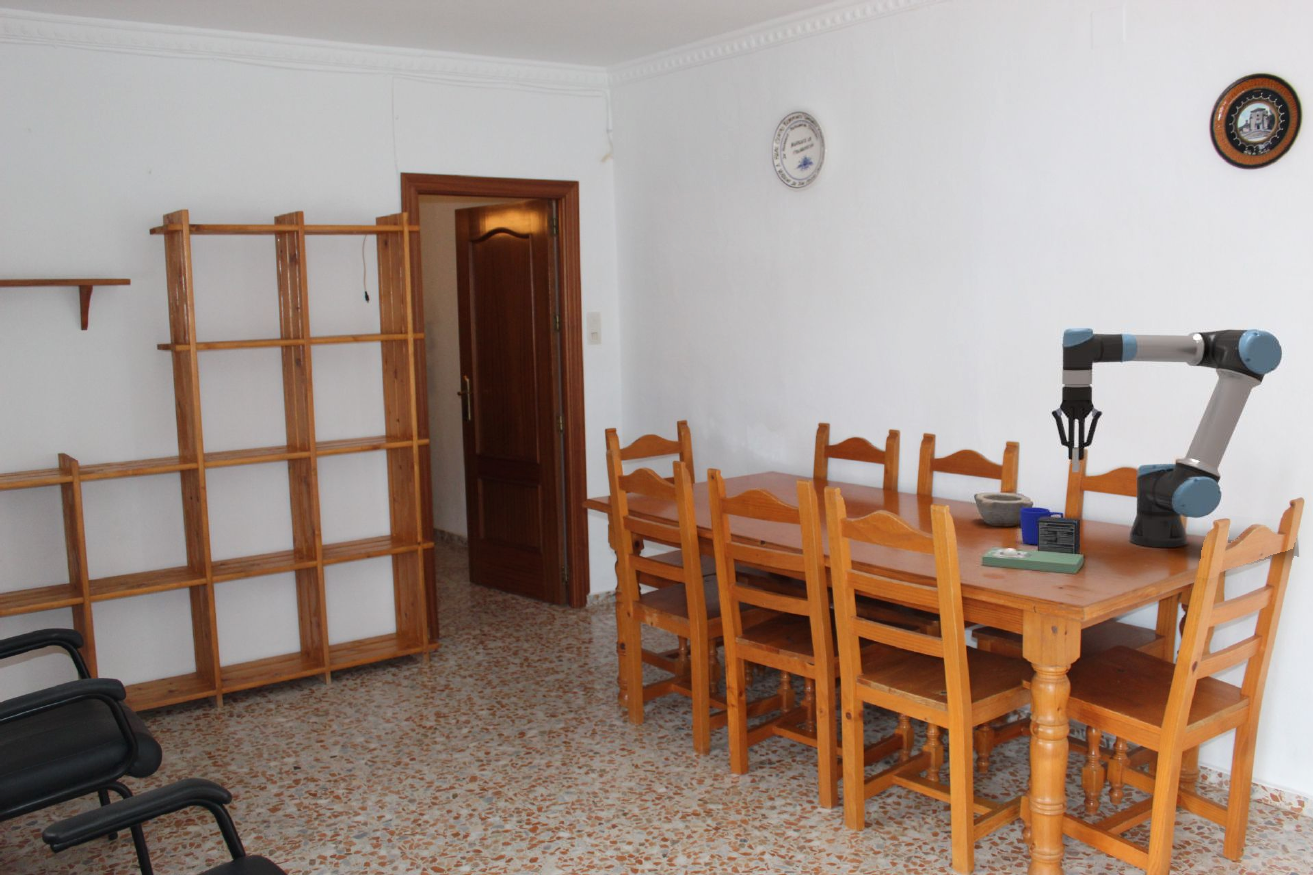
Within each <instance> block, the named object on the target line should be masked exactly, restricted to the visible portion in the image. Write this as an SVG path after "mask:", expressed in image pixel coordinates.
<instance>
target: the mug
mask: <svg viewBox="0 0 1313 875" xmlns="http://www.w3.org/2000/svg"><path fill="white" fill-rule="evenodd" d="M1020 515H1021V522H1020V524H1021V526H1020V527H1021V538H1022V542H1023V543H1025V544H1027V545H1031V546H1032V545H1033V546H1034V545H1035V546H1036V545H1037V546H1038V519H1039V518H1041V517H1053V516H1054V515H1057V516H1060V518H1064V513H1063V512H1058V511H1051V510H1050V509H1049V508H1044V507H1034V506H1032V507H1028V508H1022V509H1020Z"/></svg>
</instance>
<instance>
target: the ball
mask: <svg viewBox="0 0 1313 875" xmlns="http://www.w3.org/2000/svg"><path fill="white" fill-rule="evenodd" d="M1015 549H1016V548H1012V547H1009V548H1008V549H1006V550H1005V551H1004V552H1003V555H1005V556H1018V553H1017V551H1016V550H1015Z"/></svg>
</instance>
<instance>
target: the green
mask: <svg viewBox="0 0 1313 875" xmlns="http://www.w3.org/2000/svg"><path fill="white" fill-rule="evenodd" d="M1006 549H1008V548H1005V547H996V546H995V547H991V548H990V549H989V550H988V551H987V552H986V553H984V554H983V555H981V556H982V557H981V558H982V561H981V566H984V567H985V566H986V567H987V566H988V567H997V568H1006V569H1007V568H1008V569H1018V570H1019V569H1020V570H1031V571H1041V572H1048V573H1049V572H1050V573H1051V572H1052V573H1062V574H1063V573H1064V574H1074V575H1077V573H1078V572H1079V570H1080V569H1081V568H1082V566H1083V565H1084V554H1081V553H1080V554H1068V553H1056V552H1044V551H1038V550H1030V549H1019V548H1014V549H1015V550H1016V551H1017V553H1018V556H1005V555H1003V552H1004V551H1005V550H1006Z"/></svg>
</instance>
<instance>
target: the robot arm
mask: <svg viewBox="0 0 1313 875" xmlns="http://www.w3.org/2000/svg"><path fill="white" fill-rule="evenodd" d="M1061 345H1062V346H1061V347H1062V373H1061V375H1062V376H1061V377H1062V379H1061V381H1062V382H1061V384H1062V385H1064V386H1062V388H1061V391H1062V392H1061V395H1062V396H1061V403H1060V405H1059V408H1057V409H1055V410H1053V411H1051V416H1052V417H1053V418H1054V420H1055V424H1056V427H1057V431H1058V437H1059V441H1060V443H1061V444H1060V445H1061V446H1064V447H1067V449H1068V450H1067V451H1068V452H1067V453H1068V454H1067V455H1068V460H1071V461H1072V463H1071V464H1072V466H1071V468H1072V470H1071V471H1072V473H1080V471H1081V470H1080V469H1081V468H1080V465H1081V464H1080V463H1081V461H1083V460H1084V459H1085V448H1087V447H1090V446H1091V445H1092V443H1093V439H1094V435H1095V432H1096V428H1097V425H1098V422H1099V419H1100V418H1101V416H1102V415H1103V411H1102V410H1098V409H1096V408H1095V406H1094V404H1093V387H1092V386H1091V385H1092V384H1093V365H1094V364H1097V363H1121V364H1122V363H1124V362H1151V363H1152V362H1154V363H1155V362H1161V363H1186V365H1188V366H1190V367H1202V368H1210V369H1214V370H1215V372H1216V375H1217V376H1218V379H1217V382H1216V383H1215V386H1214V389H1213V391H1212V393H1211V395H1210V398H1209V401H1208V402H1207V405H1206V408H1205V410H1204V412H1203V414H1202V417H1201V420H1200V421H1199V425H1198V426H1197V429H1196V431H1195V434H1194V436H1193V438H1192V439H1191V442H1190V445H1189V448H1188V450H1187V452H1186V454H1185V456H1184V458H1182V459H1180V460H1177V461H1176V463H1160V464H1159V463H1157V464H1143V465H1140V466H1139V467H1138V468H1137V474H1136V516H1135V518H1134V521H1133V524H1132V526H1131V529H1130V532H1129V542H1130V543H1132V544H1135V545H1139V546H1144V547H1150V548H1178V547H1184V546H1186V545H1188V535H1187V533H1186V529H1185V526H1184V523H1183V520H1182V517H1186V518H1194V519H1199V518H1204V517H1205V516H1209V515H1210V514H1212V513H1213V512H1214V511H1215V510H1216V509H1217V508H1218V507H1219V505H1220V502H1221V499H1222V491H1221V487H1220V485H1219V482H1220V480H1221V473H1220V472H1219V469H1218V468H1219V466H1220V464H1221V462H1222V459H1223V458H1224V455H1225V452H1226V451H1227V447H1228V446H1229V444H1230V441H1231V439H1232V437H1233V434H1234V431H1235V430H1236V427H1237V426H1238V422H1239V419H1240V418H1241V415H1242V413H1243V411H1244V409H1245V407H1246V404H1247V401H1248V400H1249V396H1250V394H1251V392H1252V390H1253V388H1256V387H1257V386H1260V385H1262V383H1263V380H1264V377H1265V375H1267V374H1270V373H1271V372H1272V371H1275V370H1276V369H1277V368H1278V366H1280V363H1281V360H1282V357H1283V356H1282V355H1283V350H1282V346H1281V345H1280V342H1279V339H1278V338H1277V337H1276V336H1275V335H1273V334H1272V333H1270V332H1269V331H1266V330H1259V329H1255V328H1254V329H1222V330H1213V331H1206V332H1205V331H1203V332H1200V331H1199V332H1197V331H1196V332H1191V333H1189V334H1188V335H1171V334H1169V335H1167V334H1163V335H1161V334H1160V335H1159V334H1132V333H1131V334H1129V333H1125V334H1124V333H1094V330H1093V328H1089V327H1083V328H1081V327H1080V328H1067V329H1065V330H1064V331H1063V335H1062V344H1061ZM1091 413H1092V414H1091ZM1063 414H1064V416H1065V418H1067V419H1068V420H1067V422H1068V428H1067V429H1068V431H1067V432H1068V435H1066V430H1065V426H1064V422H1063V419H1062V415H1063ZM1090 414H1091V416H1092V419H1091V423H1090V425H1089V430H1088V432H1087V437H1086V436H1085V432H1086V430H1085V429H1086V425H1085V424H1086V419H1087V418H1088V416H1089V415H1090ZM1076 420H1077V423H1078V437H1077V438H1078V440H1077V441H1078V443H1077V445H1078V446H1077V447H1075V446H1076V445H1075V430H1076V426H1075V424H1076V423H1075V422H1076ZM1085 438H1086V440H1085Z"/></svg>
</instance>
